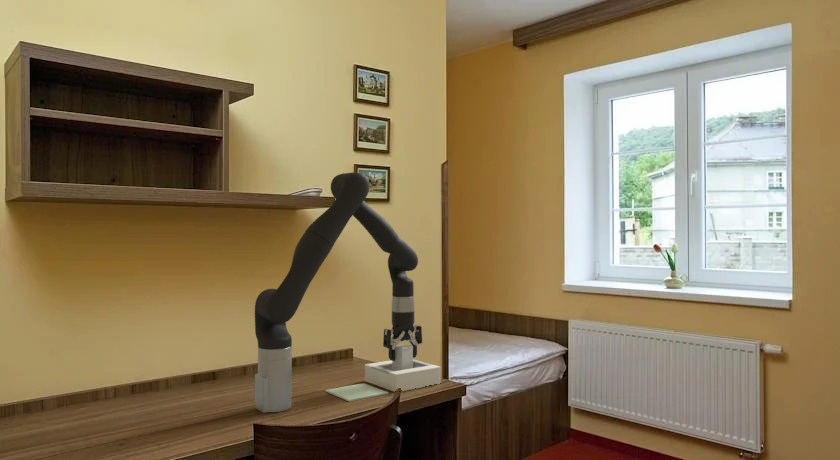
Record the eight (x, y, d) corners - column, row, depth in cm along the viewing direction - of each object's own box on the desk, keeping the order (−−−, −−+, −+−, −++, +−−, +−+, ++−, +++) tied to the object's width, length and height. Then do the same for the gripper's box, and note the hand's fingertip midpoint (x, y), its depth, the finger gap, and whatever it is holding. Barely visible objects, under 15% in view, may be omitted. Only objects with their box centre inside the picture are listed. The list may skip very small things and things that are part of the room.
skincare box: (401, 385, 194) (402, 348, 194) (391, 383, 196) (391, 346, 196) (413, 381, 198) (413, 345, 198) (403, 379, 201) (403, 344, 201)
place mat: (348, 401, 174) (348, 399, 174) (325, 391, 185) (325, 389, 185) (388, 393, 183) (388, 392, 183) (363, 384, 194) (363, 383, 194)
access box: (396, 392, 185) (396, 374, 185) (364, 380, 199) (364, 364, 199) (440, 383, 196) (440, 366, 196) (408, 373, 210) (408, 357, 210)
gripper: (391, 312, 190) (391, 363, 190) (426, 309, 199) (426, 357, 199) (378, 310, 196) (378, 359, 196) (413, 307, 205) (413, 354, 205)
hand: (403, 358), depth 197 cm, fingers open, 8 cm apart
